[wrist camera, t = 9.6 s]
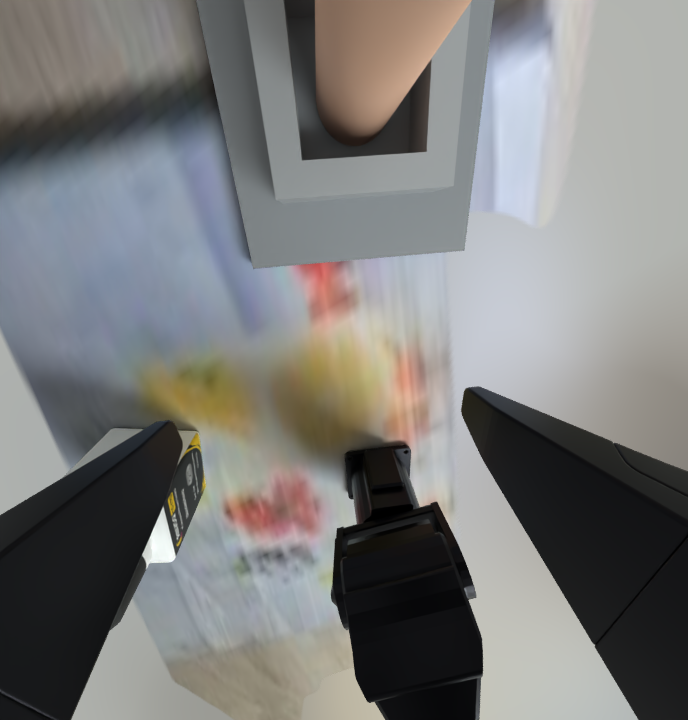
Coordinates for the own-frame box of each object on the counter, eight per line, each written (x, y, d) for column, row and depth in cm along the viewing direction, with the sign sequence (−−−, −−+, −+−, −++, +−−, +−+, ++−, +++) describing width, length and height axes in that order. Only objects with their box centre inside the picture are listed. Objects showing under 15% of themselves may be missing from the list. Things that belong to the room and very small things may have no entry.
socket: (457, 249, 19) (489, 255, 16) (256, 266, 19) (241, 276, 15) (500, -146, 12) (579, -304, 8) (172, -139, 11) (104, -307, 8)
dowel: (373, 159, 16) (497, 19, 5) (305, 125, 15) (276, -139, 4) (404, 70, 14) (686, -424, 3) (331, 26, 13) (393, -860, 2)
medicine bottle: (207, 484, 27) (136, 653, 17) (129, 483, 26) (1, 662, 16) (200, 429, 24) (107, 592, 14) (111, 425, 23) (-64, 598, 13)
